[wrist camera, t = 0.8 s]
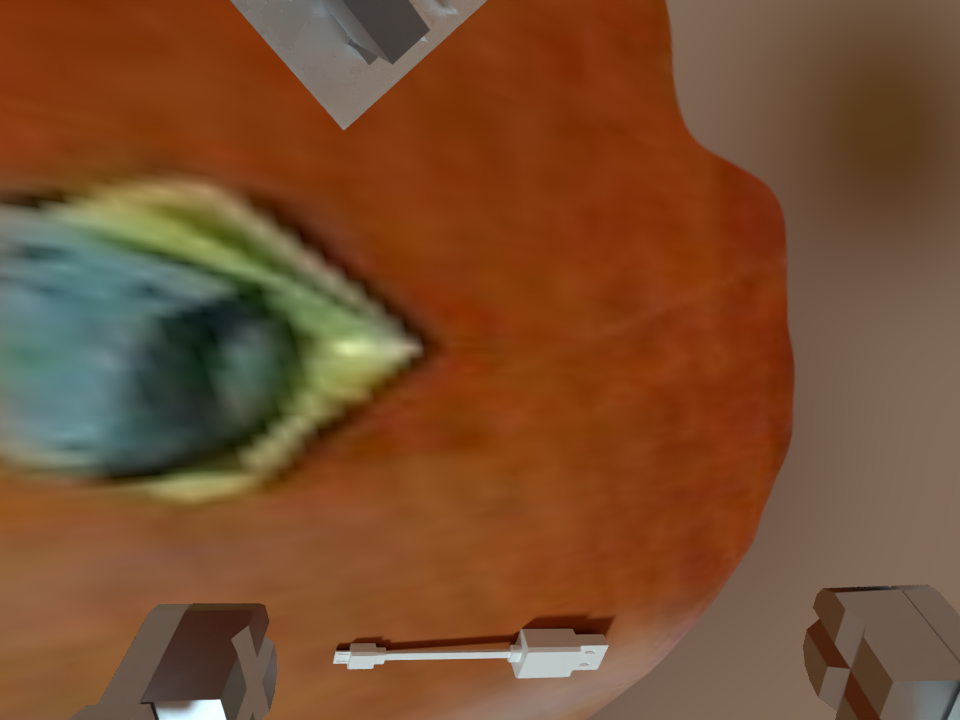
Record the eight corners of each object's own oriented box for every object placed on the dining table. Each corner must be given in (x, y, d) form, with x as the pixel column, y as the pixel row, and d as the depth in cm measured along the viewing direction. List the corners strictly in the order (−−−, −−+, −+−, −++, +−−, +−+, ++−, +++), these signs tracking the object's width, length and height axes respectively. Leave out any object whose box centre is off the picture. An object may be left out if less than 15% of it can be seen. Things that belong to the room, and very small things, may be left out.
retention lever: (352, 41, 39) (392, 64, 26) (303, -21, 37) (321, -28, 24) (377, 18, 39) (430, 30, 26) (329, -46, 37) (361, -66, 24)
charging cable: (337, 626, 71) (339, 653, 68) (601, 626, 81) (612, 649, 79) (330, 659, 73) (331, 686, 70) (588, 654, 83) (598, 677, 81)
